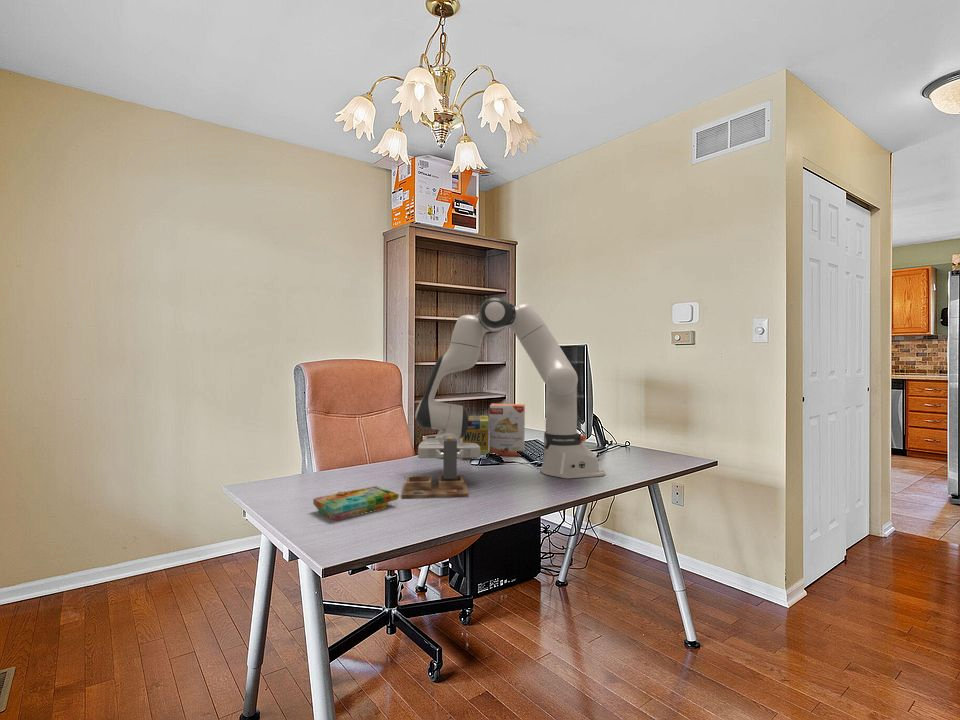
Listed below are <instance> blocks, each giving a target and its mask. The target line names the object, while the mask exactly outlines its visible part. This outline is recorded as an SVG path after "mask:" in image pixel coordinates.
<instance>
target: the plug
mask: <svg viewBox="0 0 960 720" xmlns="http://www.w3.org/2000/svg"><path fill="white" fill-rule="evenodd" d="M442 461H443V463H442V464H443V466H442V467H443V468H442V470H443V471H442V472H443V473H442V475H443V478H444V479H456V477H457V475H458V474H457V472H458V471H457V467H458V465H457V461H458V458H457V440H456V438H453V437H447V439H444V459H442Z"/></svg>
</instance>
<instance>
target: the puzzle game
mask: <svg viewBox="0 0 960 720" xmlns="http://www.w3.org/2000/svg"><path fill="white" fill-rule="evenodd" d="M399 495H400V494H398V493H396V492H393V491H391V490H388V489H386V488H383V487H380V486H378V485H373V486H368V487H364V488H358V489H352V490H348V491H343V492H342V491H337V493H333V494H327V495H324V496H319V497H315V498H314V499H312V501H313V502H312V504H313V506H315V508H316V509H317V510H318V512H319V513H320V512H321V513H320V514H322V513H323V514H322V515H324V514H325V515H324V516H326V515H327V516H326V517H328V516H329V517H328V518H330V517H331V518H330V519H332V520H334V519H335V520H334V521H339V520H338V519H340V520H343V519H342V518H344V519H347V518H346V517H348V518H351V517H350V516H352V517H354V516H353V515H356V516H358V515H357V514H360V515H362V514H361V513H364V514H366V513H365V512H368V513H371V512H370V511H372V512H375V511H374V510H376V511H379V510H378V509H380V510H383V509H382V508H384V509H386V507H387V506H388V504H389V503H390V502H394V501H397V500H398V499H399V497H400V496H399Z"/></svg>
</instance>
